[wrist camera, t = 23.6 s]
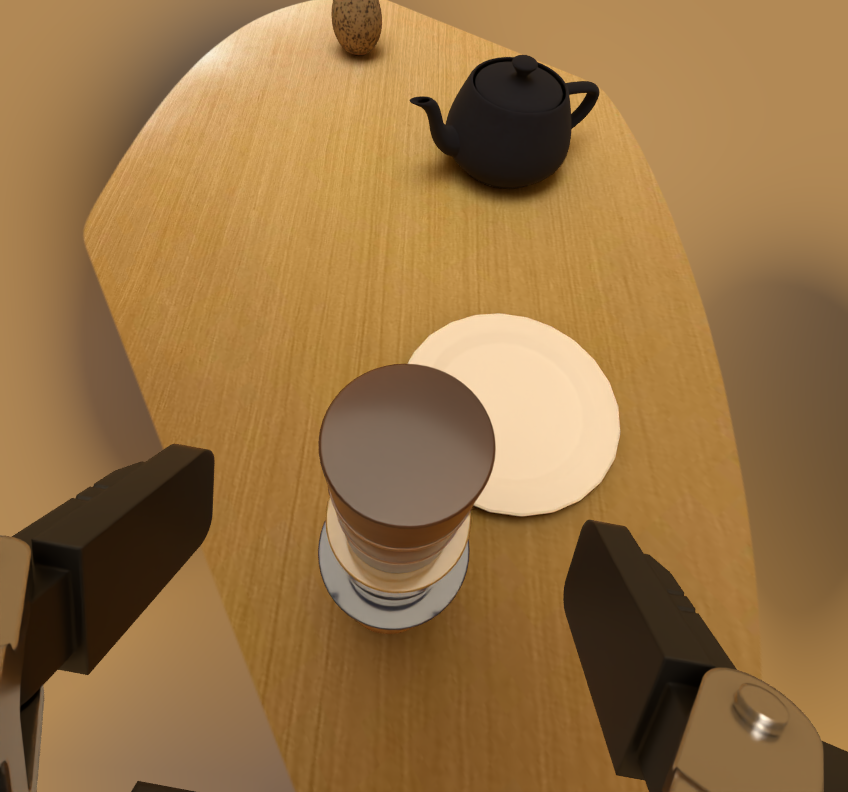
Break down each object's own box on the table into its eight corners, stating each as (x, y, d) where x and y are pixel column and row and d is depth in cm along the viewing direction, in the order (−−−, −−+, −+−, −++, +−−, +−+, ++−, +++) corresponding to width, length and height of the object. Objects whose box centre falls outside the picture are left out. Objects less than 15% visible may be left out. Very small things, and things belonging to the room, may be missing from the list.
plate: (605, 548, 40) (614, 545, 38) (368, 483, 41) (368, 477, 39) (619, 350, 49) (627, 341, 48) (427, 301, 50) (429, 290, 49)
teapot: (549, 113, 68) (581, 13, 57) (605, 183, 62) (652, 86, 51) (385, 140, 62) (386, 35, 51) (428, 221, 56) (439, 120, 45)
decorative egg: (325, 55, 70) (317, -29, 61) (349, 34, 73) (345, -49, 65) (367, 71, 69) (365, -12, 60) (390, 49, 72) (391, -33, 64)
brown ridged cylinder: (318, 507, 19) (279, 424, 12) (405, 440, 20) (418, 333, 13) (389, 601, 17) (394, 574, 10) (477, 522, 19) (535, 451, 12)
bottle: (340, 639, 35) (293, 637, 16) (338, 530, 39) (298, 428, 20) (446, 628, 36) (515, 614, 17) (434, 522, 40) (481, 417, 21)
